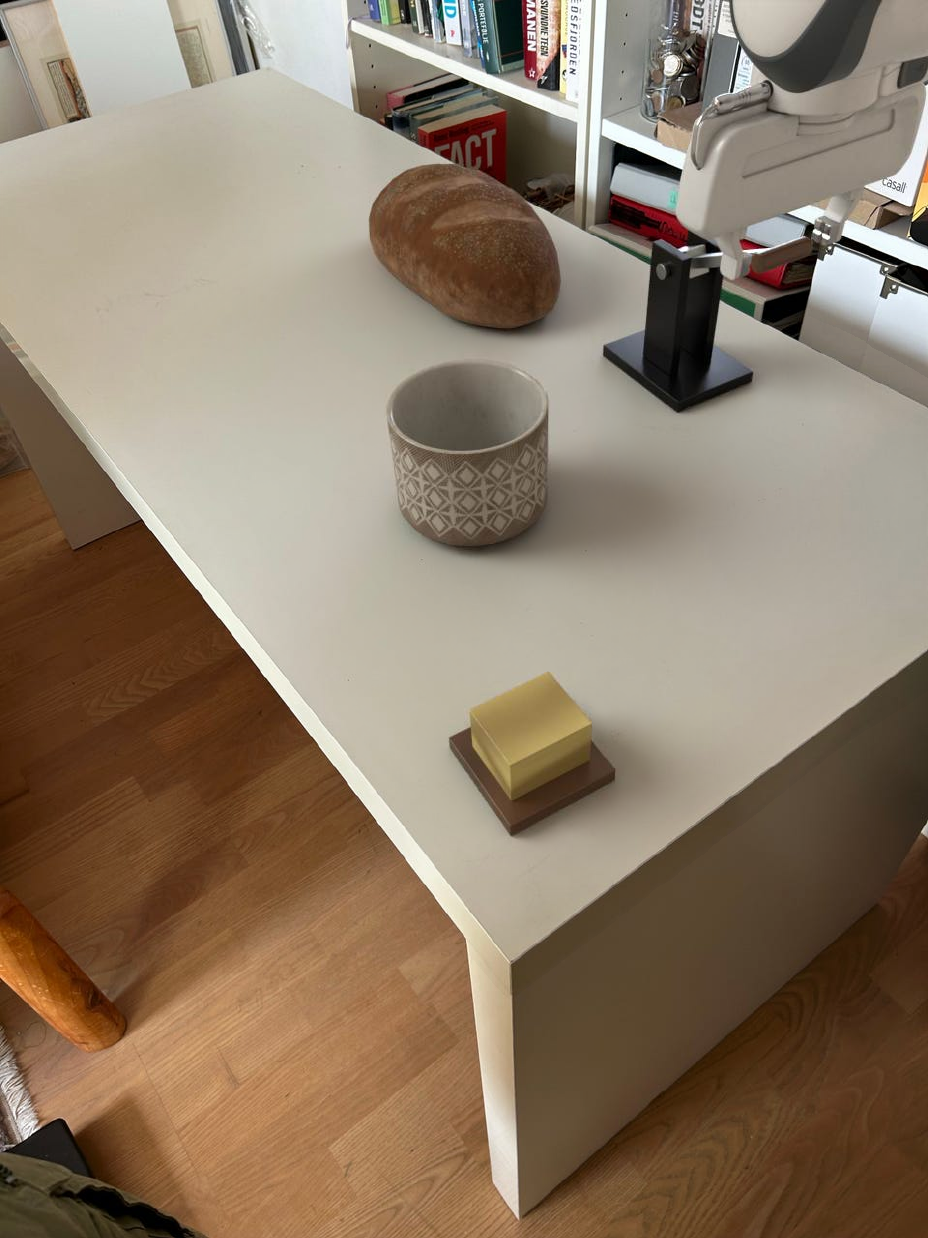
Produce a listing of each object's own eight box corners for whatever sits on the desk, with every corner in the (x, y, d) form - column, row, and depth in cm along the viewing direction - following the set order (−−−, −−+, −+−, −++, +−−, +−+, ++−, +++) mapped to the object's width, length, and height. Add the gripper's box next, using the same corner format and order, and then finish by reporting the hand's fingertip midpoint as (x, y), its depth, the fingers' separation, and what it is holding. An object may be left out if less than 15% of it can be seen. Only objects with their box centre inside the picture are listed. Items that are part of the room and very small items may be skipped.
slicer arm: (814, 260, 77) (811, 229, 76) (766, 279, 76) (761, 247, 75) (702, 268, 89) (697, 241, 88) (658, 284, 88) (653, 257, 87)
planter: (440, 447, 88) (431, 346, 81) (569, 479, 84) (572, 376, 77) (373, 533, 81) (356, 431, 73) (512, 572, 77) (508, 469, 69)
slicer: (752, 382, 93) (775, 254, 83) (677, 413, 90) (692, 284, 81) (674, 328, 100) (687, 205, 91) (602, 355, 97) (608, 232, 88)
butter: (615, 780, 63) (620, 732, 59) (510, 836, 61) (508, 791, 57) (548, 698, 68) (549, 650, 64) (449, 747, 66) (443, 700, 62)
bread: (472, 356, 99) (466, 249, 90) (342, 250, 116) (327, 153, 108) (595, 307, 104) (599, 202, 95) (453, 213, 121) (446, 117, 113)
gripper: (729, 116, 62) (702, 313, 72) (957, 46, 68) (903, 237, 78) (667, 88, 65) (650, 279, 76) (889, 25, 72) (846, 209, 82)
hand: (780, 257), depth 77 cm, fingers open, 8 cm apart
